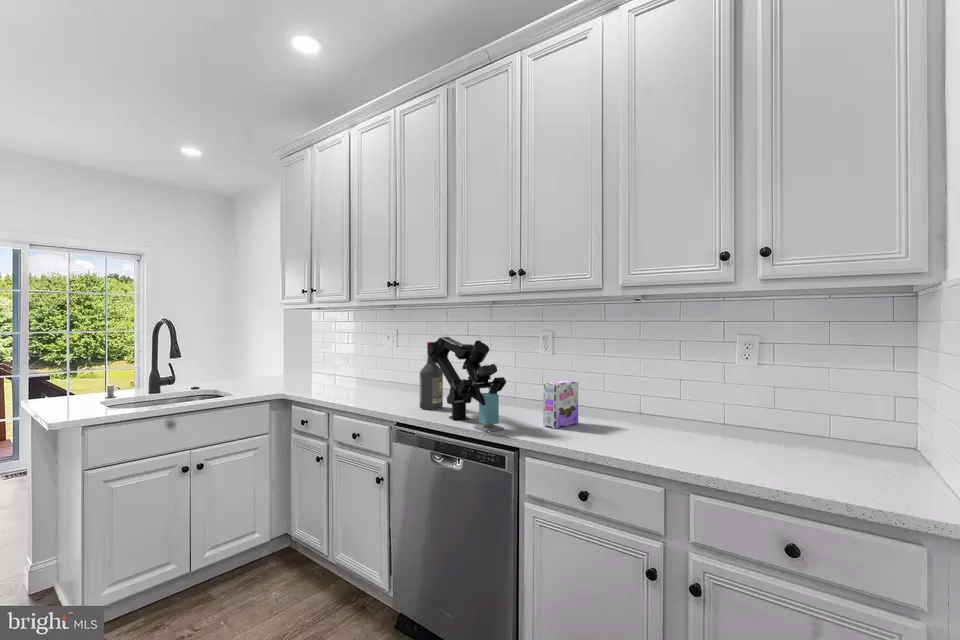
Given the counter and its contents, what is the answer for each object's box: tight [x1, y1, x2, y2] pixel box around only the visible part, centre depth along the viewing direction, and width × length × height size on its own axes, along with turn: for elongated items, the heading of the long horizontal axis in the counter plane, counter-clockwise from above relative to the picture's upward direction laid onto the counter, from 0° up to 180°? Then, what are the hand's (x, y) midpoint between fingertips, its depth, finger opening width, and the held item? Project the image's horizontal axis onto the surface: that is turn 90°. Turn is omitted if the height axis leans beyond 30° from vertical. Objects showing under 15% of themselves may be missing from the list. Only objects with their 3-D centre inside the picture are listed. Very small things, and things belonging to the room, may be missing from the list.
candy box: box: [542, 379, 579, 430], centre depth 178 cm, size 14×6×16 cm, turn 129°
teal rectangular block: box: [478, 392, 500, 425], centre depth 171 cm, size 5×5×10 cm
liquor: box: [419, 341, 444, 411], centre depth 214 cm, size 9×9×30 cm
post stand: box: [473, 424, 505, 433], centre depth 171 cm, size 8×8×5 cm
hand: (490, 404), depth 170 cm, fingers closed on teal rectangular block, 5 cm apart
